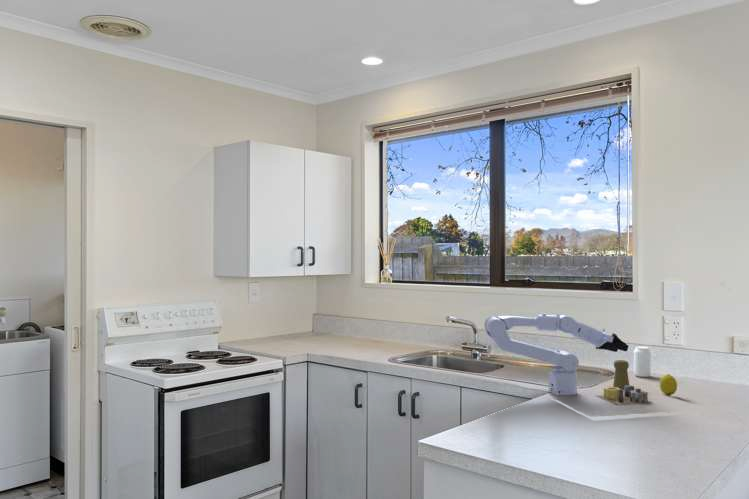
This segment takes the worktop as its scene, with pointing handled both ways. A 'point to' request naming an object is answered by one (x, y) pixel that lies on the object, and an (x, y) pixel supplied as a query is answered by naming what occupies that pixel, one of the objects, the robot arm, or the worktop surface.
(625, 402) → the gear board
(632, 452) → the worktop surface
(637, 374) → the beverage can
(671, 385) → the lemon
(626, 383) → the cork
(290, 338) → the worktop surface
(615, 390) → the gear
